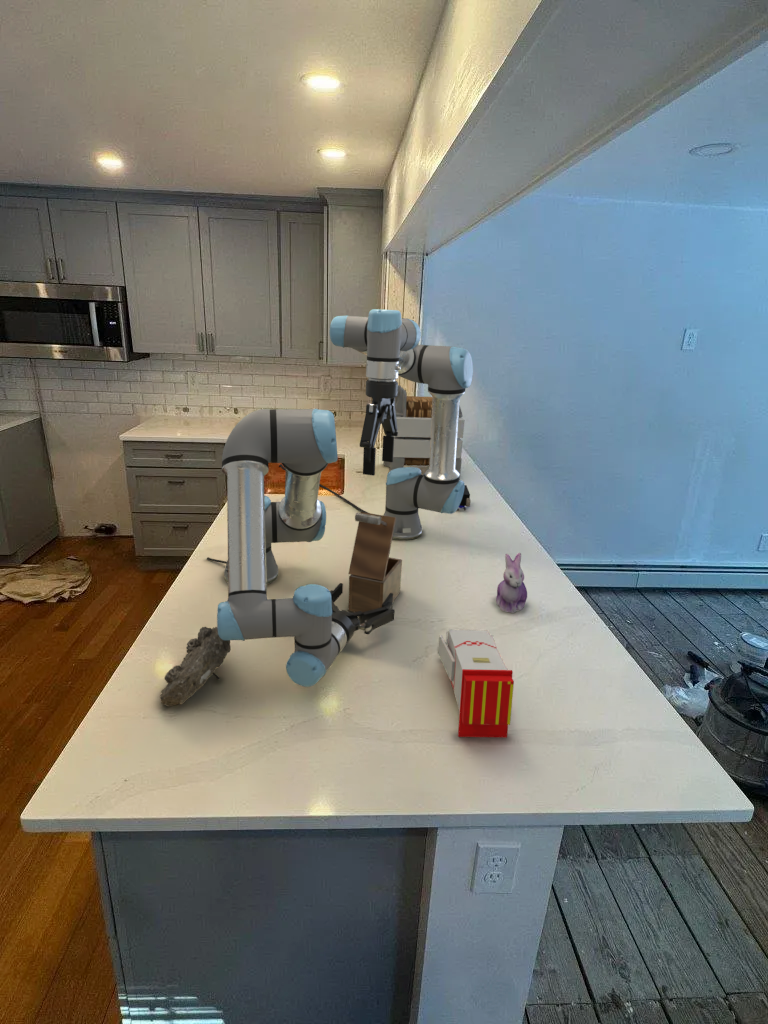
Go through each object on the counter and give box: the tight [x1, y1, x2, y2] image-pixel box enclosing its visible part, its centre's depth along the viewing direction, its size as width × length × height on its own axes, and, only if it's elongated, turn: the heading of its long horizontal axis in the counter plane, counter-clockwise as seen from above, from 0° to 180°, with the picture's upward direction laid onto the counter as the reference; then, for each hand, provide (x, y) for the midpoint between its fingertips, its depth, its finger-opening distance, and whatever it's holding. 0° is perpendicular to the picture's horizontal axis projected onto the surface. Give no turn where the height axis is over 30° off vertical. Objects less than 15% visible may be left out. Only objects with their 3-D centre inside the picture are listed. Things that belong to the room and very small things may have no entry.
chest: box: [347, 556, 403, 612], centre depth 152 cm, size 16×9×10 cm, turn 161°
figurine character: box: [456, 484, 471, 512], centre depth 229 cm, size 7×8×15 cm
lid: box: [348, 511, 396, 581], centre depth 140 cm, size 16×9×9 cm
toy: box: [437, 628, 515, 738], centre depth 117 cm, size 12×13×30 cm
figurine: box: [495, 552, 528, 614], centre depth 152 cm, size 9×10×15 cm
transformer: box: [383, 384, 465, 480], centre depth 268 cm, size 34×33×41 cm
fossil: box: [159, 626, 232, 707], centre depth 118 cm, size 22×10×15 cm
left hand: (366, 592), depth 144 cm, fingers open, 13 cm apart
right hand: (378, 467), depth 139 cm, fingers open, 13 cm apart
